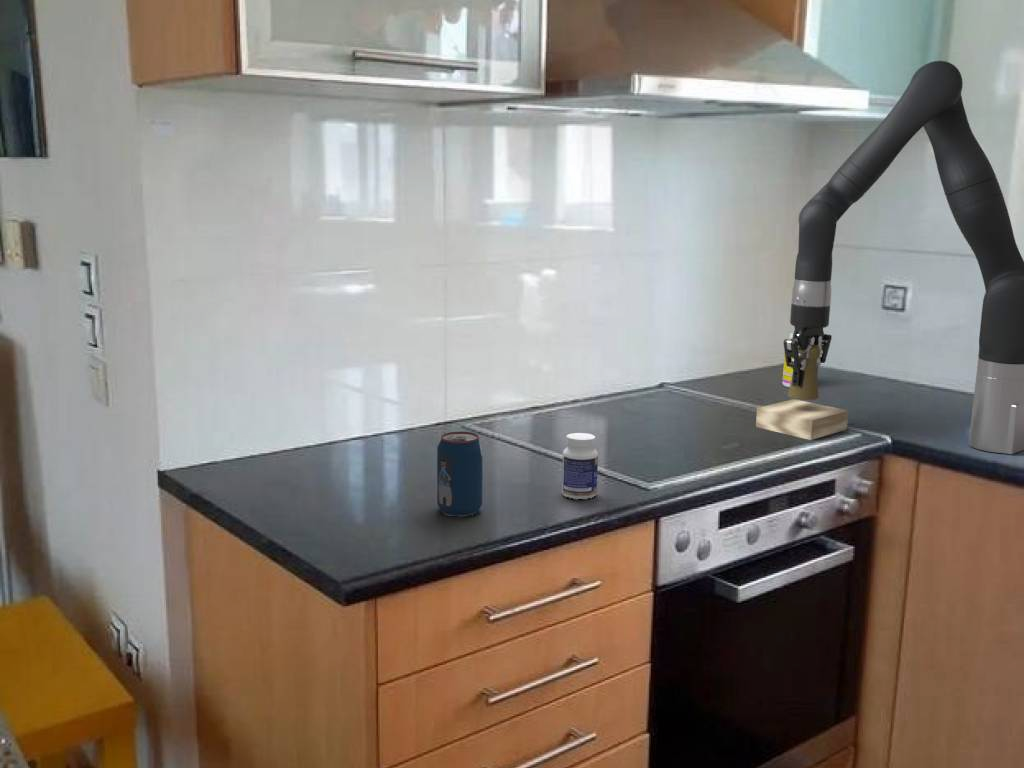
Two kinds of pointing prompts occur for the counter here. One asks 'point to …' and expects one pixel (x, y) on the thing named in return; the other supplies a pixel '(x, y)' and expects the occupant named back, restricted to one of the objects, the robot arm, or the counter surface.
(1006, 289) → the robot arm
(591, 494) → the pill bottle
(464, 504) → the soda can
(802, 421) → the block
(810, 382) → the cork
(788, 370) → the supplement bottle
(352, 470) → the counter surface
